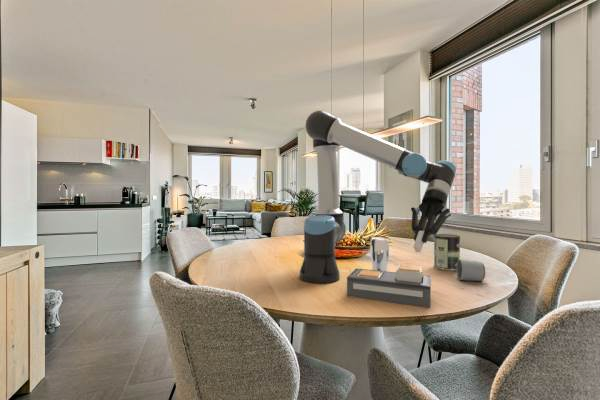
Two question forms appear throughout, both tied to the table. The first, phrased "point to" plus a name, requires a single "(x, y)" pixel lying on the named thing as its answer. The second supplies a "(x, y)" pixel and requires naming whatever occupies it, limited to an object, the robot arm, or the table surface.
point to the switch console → (389, 289)
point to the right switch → (409, 273)
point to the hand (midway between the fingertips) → (416, 249)
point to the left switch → (370, 274)
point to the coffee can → (446, 251)
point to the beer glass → (379, 253)
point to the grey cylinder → (470, 270)
